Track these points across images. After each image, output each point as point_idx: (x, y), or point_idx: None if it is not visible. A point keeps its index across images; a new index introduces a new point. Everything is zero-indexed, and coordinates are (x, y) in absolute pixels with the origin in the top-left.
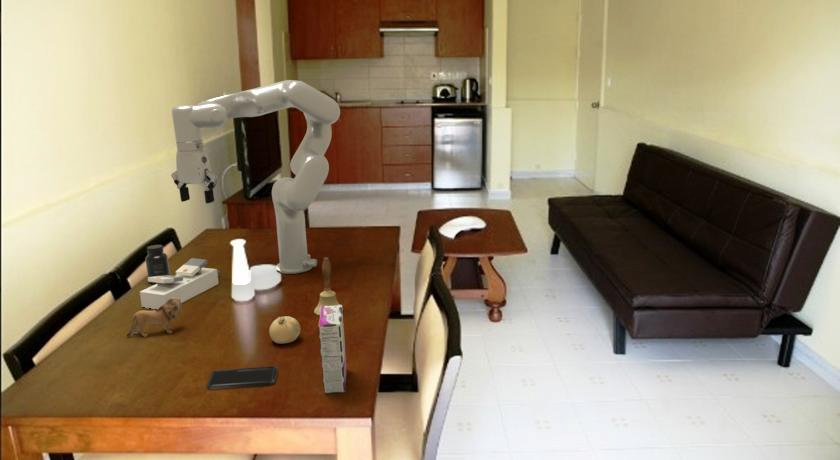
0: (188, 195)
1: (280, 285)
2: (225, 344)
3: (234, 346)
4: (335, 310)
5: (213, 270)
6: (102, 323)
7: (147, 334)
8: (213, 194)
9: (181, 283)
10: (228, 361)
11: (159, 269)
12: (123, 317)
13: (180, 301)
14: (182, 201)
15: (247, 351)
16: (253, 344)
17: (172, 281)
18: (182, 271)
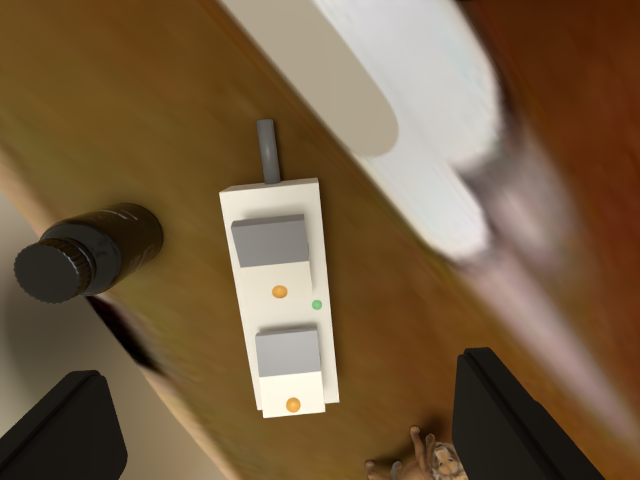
0: (72, 425)
1: (513, 108)
2: (570, 431)
3: (592, 430)
4: None
5: (316, 198)
6: (262, 460)
7: (401, 465)
8: (538, 405)
9: (314, 326)
10: (612, 469)
11: (136, 265)
12: (275, 427)
13: None
14: (118, 458)
15: (627, 434)
16: (624, 412)
17: (321, 371)
18: (274, 297)
